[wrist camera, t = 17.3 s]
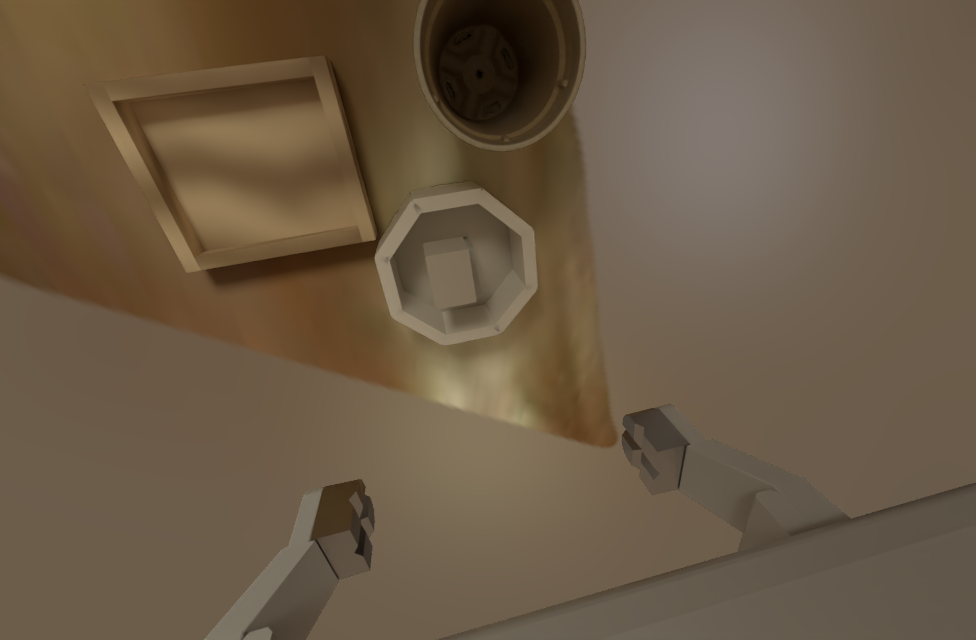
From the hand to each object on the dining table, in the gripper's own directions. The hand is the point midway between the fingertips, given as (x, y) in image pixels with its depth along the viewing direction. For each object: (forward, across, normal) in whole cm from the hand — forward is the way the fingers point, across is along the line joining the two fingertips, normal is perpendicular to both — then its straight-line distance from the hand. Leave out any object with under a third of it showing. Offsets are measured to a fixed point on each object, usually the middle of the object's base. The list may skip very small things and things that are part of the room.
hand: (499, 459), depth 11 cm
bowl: (+24, -1, +1) cm, 24 cm away
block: (+20, 0, 0) cm, 20 cm away
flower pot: (+24, -5, -12) cm, 28 cm away
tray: (+24, +12, -8) cm, 28 cm away
